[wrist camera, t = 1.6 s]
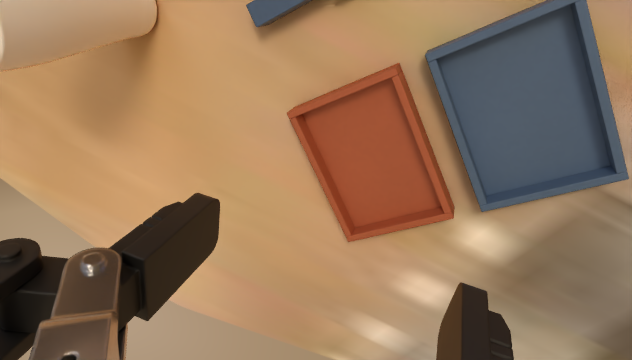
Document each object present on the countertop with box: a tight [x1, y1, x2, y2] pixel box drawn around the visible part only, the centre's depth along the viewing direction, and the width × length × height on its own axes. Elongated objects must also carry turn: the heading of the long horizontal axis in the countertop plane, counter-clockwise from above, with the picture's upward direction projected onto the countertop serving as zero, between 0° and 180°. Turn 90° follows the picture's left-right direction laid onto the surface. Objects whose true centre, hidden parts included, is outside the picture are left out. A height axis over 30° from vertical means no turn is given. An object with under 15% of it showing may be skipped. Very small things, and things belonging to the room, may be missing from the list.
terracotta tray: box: [287, 63, 454, 242], centre depth 34 cm, size 13×10×2 cm
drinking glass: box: [0, 0, 157, 72], centre depth 30 cm, size 7×7×15 cm
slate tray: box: [425, 0, 629, 212], centre depth 29 cm, size 13×10×2 cm
